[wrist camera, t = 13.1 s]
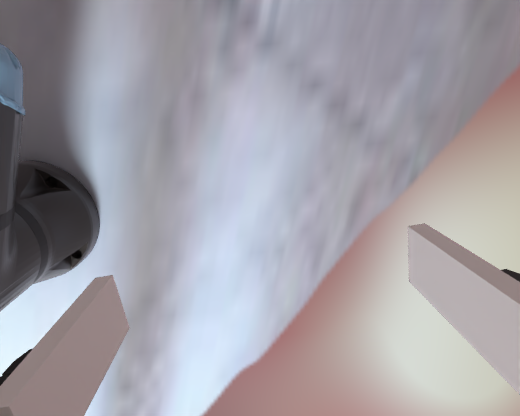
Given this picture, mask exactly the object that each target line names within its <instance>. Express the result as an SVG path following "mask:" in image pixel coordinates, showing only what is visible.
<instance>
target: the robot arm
mask: <svg viewBox="0 0 520 416" xmlns="http://www.w3.org/2000/svg"><path fill="white" fill-rule="evenodd" d="M23 115H25V109H24V107H23V70H22V66H21V64H20V62H19V60H18V58H17V57H16V56H15V55H14V54H13V53H12V52H11V51H10V50H9V49H8V48H7V47H5V46H4V45H2V44H0V311H1V310H3V309H4V308H5V307H6V306H7V305H9V304H10V303H11V302H12V301H13V300H14V299H16V298H17V297H18V296H19V295H20V294H22V293H23V292H24V291H25V290H26V289H28V288H29V287H30V286H31V285H32V284H35V283H38V282H41V281H44V280H48V279H51V278H54V277H57V276H60V275H63V274H65V273H67V272H69V271H70V270H72V269H73V268H75V267H76V266H77V265H78V264H79V263H81V262H82V261H83V260H84V259H85V258H86V257H87V256H88V255H89V254H90V252H91V251H92V249H93V248H94V246H95V244H96V241H97V238H98V233H99V217H98V213H97V209H96V206H95V204H94V202H93V200H92V198H91V196H90V195H89V193H88V192H87V190H86V189H85V188H84V187H83V185H82V184H81V183H80V182H79V181H78V180H76V179H75V178H74V177H73V176H71V175H70V174H69V173H67V172H65V171H64V170H62V169H60V168H58V167H56V166H53V165H51V164H47V163H43V162H38V161H19V154H20V142H21V130H22V119H23ZM408 254H409V255H408V257H409V282H410V283H411V284H412V285H413V286H414V287H415V288H416V289H417V290H418V291H419V292H420V293H421V294H422V295H423V296H424V297H425V298H426V299H427V300H428V301H429V302H430V303H431V304H432V305H433V306H434V307H435V308H436V309H437V310H438V312H439V313H440V314H441V315H442V316H443V317H444V318H445V319H446V320H447V321H448V322H449V323H450V324H451V325H452V326H453V327H454V328H455V329H456V330H457V331H458V332H459V333H460V334H461V335H462V336H463V337H464V338H465V339H466V340H467V341H468V342H469V343H470V344H471V345H472V346H473V347H474V348H475V349H476V350H477V351H478V352H479V353H480V355H481V356H483V357H484V359H485V360H486V361H487V362H488V363H489V364H490V365H491V366H492V367H493V368H494V369H495V370H496V371H497V372H498V373H499V374H500V375H501V376H502V377H503V378H504V379H505V380H506V381H507V382H508V383H509V384H510V385H511V386H512V387H513V388H514V389H515V390H516V391H517V392H518V393H519V394H520V274H519V273H516V272H513V271H510V270H507V269H504V270H499V269H498V268H496V267H495V266H493V265H491V264H490V263H488V262H486V261H485V260H483V259H482V258H480V257H478V256H477V255H475V254H473V253H472V252H470V251H469V250H467V249H465V248H464V247H462V246H461V245H459V244H457V243H456V242H454V241H452V240H451V239H449V238H448V237H446V236H444V235H443V234H441V233H440V232H438V231H436V230H435V229H433V228H431V227H430V226H428V225H426V224H419V225H413V226H408ZM128 330H129V325H128V321H127V318H126V315H125V312H124V309H123V306H122V303H121V300H120V297H119V293H118V290H117V287H116V284H115V281H114V278H113V275H110V276H104V277H98V278H95V279H94V280H93V281H92V282H91V283H90V285H89V286H88V287H87V288H86V289H85V290H84V291H83V293H82V294H81V295H80V296H79V297H78V298H77V299H76V300H75V302H74V303H73V304H72V305H71V306H70V307H69V308H68V310H67V311H66V312H65V313H64V314H63V315H62V316H61V318H60V319H59V320H58V321H57V322H56V323H55V324H54V326H53V327H52V328H51V329H50V330H49V331H48V332H47V333H46V335H45V336H44V337H43V338H42V339H41V340H40V341H39V343H38V344H37V345H36V346H35V347H34V348H33V349H30V350H28V351H27V352H26V353H24V354H23V355H22V356H20V357H19V358H18V359H16V360H15V361H14V362H13V363H12V364H11V365H10V366H9V367H8V368H7V370H6V371H5V372H4V373H3V374H2V376H1V377H0V416H84V415H85V413H86V411H87V409H88V407H89V405H90V403H91V401H92V399H93V397H94V395H95V394H96V392H97V390H98V388H99V386H100V384H101V382H102V380H103V378H104V376H105V374H106V372H107V370H108V369H109V367H110V365H111V363H112V361H113V359H114V357H115V355H116V353H117V351H118V349H119V347H120V345H121V343H122V342H123V340H124V338H125V336H126V334H127V332H128Z"/></svg>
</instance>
